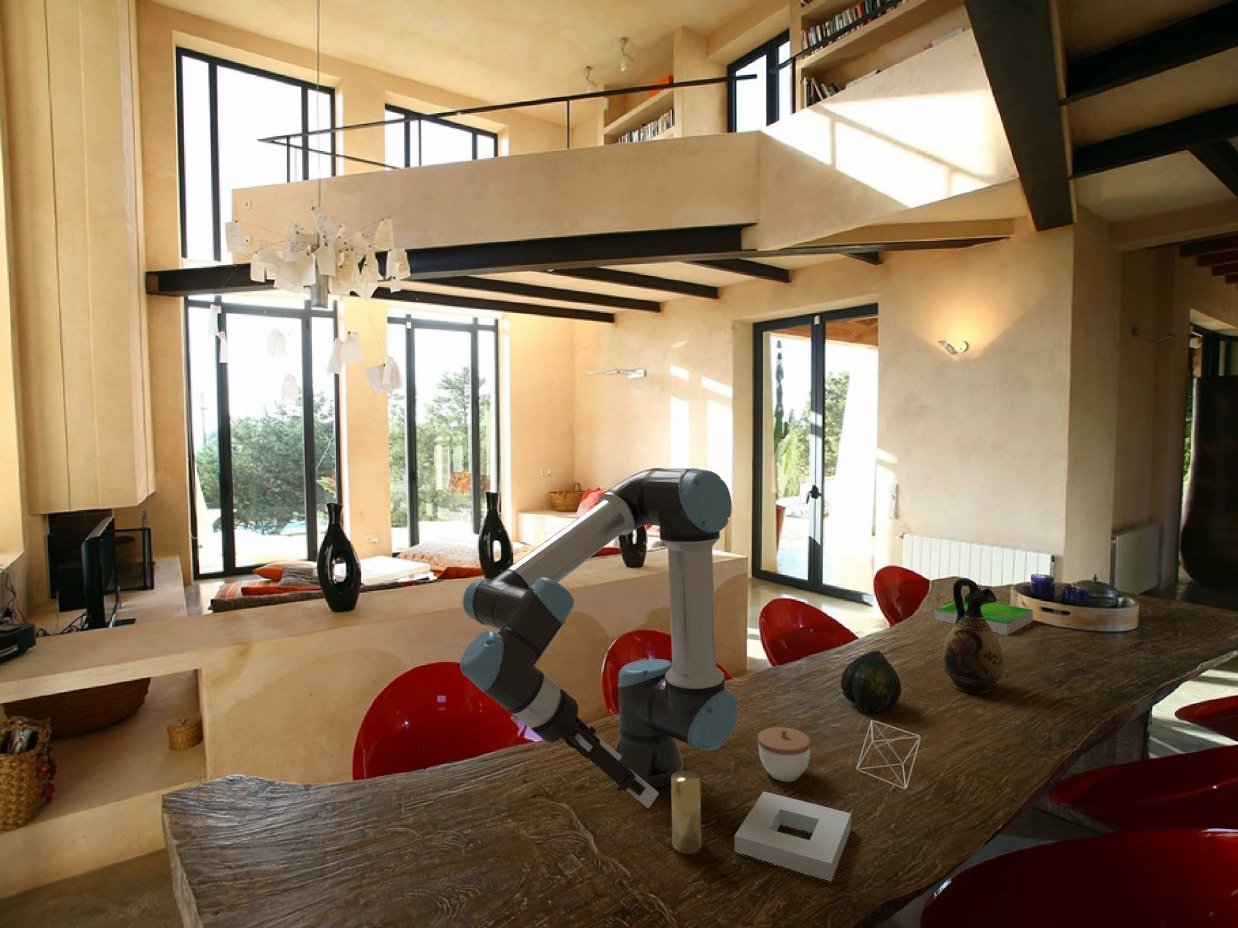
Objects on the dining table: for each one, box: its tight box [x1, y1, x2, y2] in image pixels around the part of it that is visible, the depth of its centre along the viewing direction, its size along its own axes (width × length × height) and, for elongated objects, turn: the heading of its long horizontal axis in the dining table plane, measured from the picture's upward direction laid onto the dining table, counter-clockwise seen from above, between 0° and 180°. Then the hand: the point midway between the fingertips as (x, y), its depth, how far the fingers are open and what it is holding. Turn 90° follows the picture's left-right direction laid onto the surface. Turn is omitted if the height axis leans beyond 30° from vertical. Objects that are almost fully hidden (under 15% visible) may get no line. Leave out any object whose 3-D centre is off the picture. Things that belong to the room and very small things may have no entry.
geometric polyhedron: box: [856, 719, 922, 790], centre depth 138 cm, size 12×11×9 cm
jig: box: [734, 791, 852, 882], centre depth 115 cm, size 16×16×3 cm
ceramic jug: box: [941, 577, 1005, 695], centre depth 184 cm, size 17×15×30 cm
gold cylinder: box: [670, 770, 702, 853], centre depth 115 cm, size 5×5×12 cm
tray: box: [933, 597, 1034, 636], centre depth 248 cm, size 25×25×5 cm
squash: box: [840, 650, 902, 713], centre depth 172 cm, size 14×15×15 cm
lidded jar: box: [757, 726, 811, 782], centre depth 138 cm, size 11×11×9 cm
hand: (633, 779), depth 110 cm, fingers open, 13 cm apart
